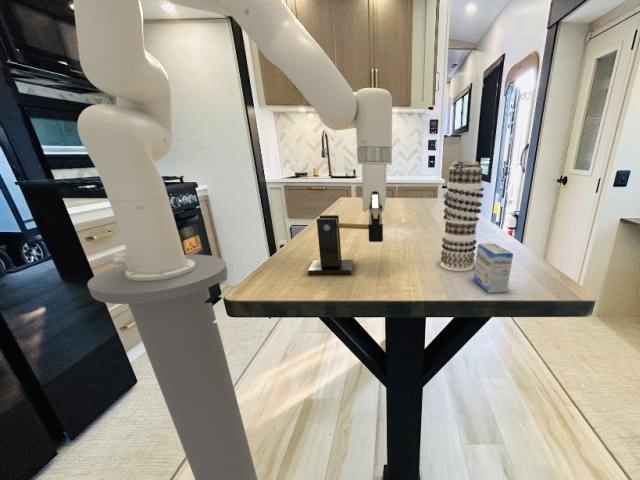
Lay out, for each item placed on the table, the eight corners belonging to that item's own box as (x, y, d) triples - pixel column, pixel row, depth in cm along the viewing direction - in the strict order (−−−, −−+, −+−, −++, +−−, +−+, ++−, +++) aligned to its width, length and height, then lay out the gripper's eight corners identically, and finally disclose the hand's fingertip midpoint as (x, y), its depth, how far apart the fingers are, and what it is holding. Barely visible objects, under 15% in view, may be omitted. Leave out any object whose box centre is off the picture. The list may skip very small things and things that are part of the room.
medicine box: (472, 280, 74) (477, 243, 70) (490, 278, 75) (495, 242, 71) (488, 293, 67) (493, 253, 63) (507, 292, 68) (514, 252, 64)
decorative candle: (481, 270, 80) (495, 162, 70) (447, 272, 78) (456, 161, 68) (465, 259, 88) (476, 161, 78) (434, 261, 86) (440, 160, 76)
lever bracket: (353, 264, 83) (350, 214, 78) (351, 274, 76) (348, 220, 71) (314, 264, 82) (309, 213, 77) (308, 275, 75) (302, 220, 70)
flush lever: (377, 230, 78) (378, 220, 77) (378, 234, 74) (378, 224, 73) (324, 227, 77) (323, 217, 76) (320, 232, 73) (320, 221, 72)
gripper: (358, 156, 77) (361, 229, 84) (354, 157, 61) (358, 247, 68) (390, 156, 77) (389, 229, 85) (394, 157, 62) (393, 246, 69)
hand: (375, 236), depth 77 cm, fingers open, 7 cm apart
